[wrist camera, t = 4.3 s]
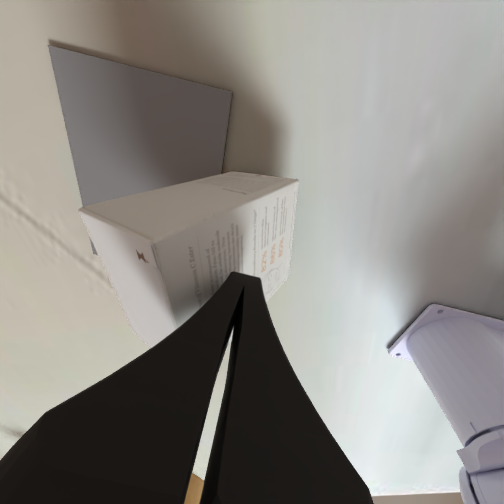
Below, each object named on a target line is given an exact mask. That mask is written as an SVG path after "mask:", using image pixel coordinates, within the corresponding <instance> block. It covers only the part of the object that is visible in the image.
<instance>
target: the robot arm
mask: <svg viewBox="0 0 504 504" xmlns="http://www.w3.org/2000/svg"><path fill="white" fill-rule="evenodd" d="M232 330H233V335H232V342H231V349H230V356H229V364H228V371H227V378H226V384H225V390H224V394H223V399H222V403H221V408H220V413H219V417H218V422H217V426H216V431H215V435H214V440H213V444H212V449H211V453H210V458H209V462H208V467H207V471H206V476H205V480H204V485H203V489H202V494H201V498H200V503H199V504H374V503H373V500H372V497H371V494H370V491H369V488H368V487H367V485H366V484H365V482H364V481H363V480H362V478H361V477H360V475H359V474H358V473H357V471H356V470H355V468H354V467H353V465H352V464H351V463H350V461H349V460H348V458H347V457H346V455H345V454H344V452H343V451H342V449H341V448H340V446H339V445H338V443H337V442H336V440H335V439H334V438H333V436H332V434H331V433H330V431H329V430H328V428H327V427H326V425H325V423H324V422H323V420H322V419H321V417H320V416H319V414H318V412H317V411H316V409H315V407H314V406H313V404H312V402H311V400H310V399H309V397H308V395H307V394H306V392H305V390H304V388H303V387H302V385H301V383H300V381H299V380H298V378H297V376H296V374H295V372H294V370H293V368H292V366H291V364H290V362H289V360H288V358H287V356H286V354H285V352H284V350H283V348H282V345H281V343H280V341H279V338H278V336H277V333H276V331H275V328H274V326H273V323H272V320H271V317H270V314H269V311H268V308H267V304H266V301H265V297H264V292H263V288H262V280H261V279H260V278H259V277H255V276H251V275H247V274H243V273H239V272H235V271H233V272H231V273H230V274H229V276H228V278H227V279H226V280H225V282H224V283H223V284H222V285H221V287H220V288H219V289H218V290H217V291H216V292H215V294H214V295H213V296H212V297H211V298H210V299H209V300H208V301H207V302H206V303H205V304H204V305H203V306H202V307H201V308H200V309H199V310H198V311H197V312H196V313H195V314H194V315H192V316H191V317H190V318H189V319H188V320H187V321H186V322H184V323H183V324H182V325H181V326H180V327H178V328H177V329H176V330H175V331H173V332H172V333H171V334H170V335H168V336H167V337H166V338H164V339H163V340H162V341H160V342H159V343H158V344H156V345H155V346H153V347H152V348H151V349H149V350H148V351H146V352H145V353H143V354H142V355H140V356H139V357H137V358H136V359H134V360H133V361H131V362H130V363H128V364H126V365H125V366H123V367H122V368H120V369H119V370H117V371H116V372H114V373H113V374H111V375H109V376H108V377H106V378H104V379H103V380H101V381H99V382H98V383H96V384H94V385H92V386H91V387H89V388H87V389H85V390H84V391H82V392H80V393H78V394H77V395H75V396H73V397H71V398H70V399H68V400H66V401H64V402H63V403H61V404H59V405H57V406H56V407H54V408H52V409H50V410H49V411H47V412H46V413H44V414H43V415H42V416H41V418H40V419H39V420H38V421H37V422H36V423H35V424H34V425H33V426H32V427H31V428H30V429H29V430H28V431H27V432H26V433H25V434H24V435H23V436H22V437H21V438H20V439H19V440H18V441H17V442H16V443H15V444H14V445H13V446H12V447H11V449H10V450H9V451H8V452H7V453H6V454H5V456H4V457H3V458H2V459H1V460H0V504H184V502H185V498H186V494H187V490H188V486H189V482H190V478H191V474H192V470H193V466H194V462H195V459H196V455H197V451H198V447H199V443H200V439H201V435H202V431H203V427H204V423H205V419H206V415H207V411H208V407H209V403H210V399H211V395H212V392H213V388H214V384H215V381H216V378H217V374H218V371H219V368H220V365H221V362H222V360H223V357H224V354H225V351H226V348H227V345H228V342H229V339H230V336H231V333H232ZM388 353H389V355H391V356H394V357H399V358H403V359H407V360H411V361H414V363H415V364H416V366H417V368H418V369H419V371H420V373H421V375H422V376H423V378H424V380H425V381H426V383H427V385H428V387H429V388H430V390H431V392H432V393H433V395H434V397H435V399H436V400H437V402H438V404H439V405H440V407H441V409H442V410H443V412H444V414H445V416H446V417H447V419H448V421H449V422H450V424H451V426H452V428H453V429H454V431H455V433H456V434H457V436H458V438H459V439H460V441H461V443H462V445H463V446H464V448H463V449H460V450H457V453H458V455H459V457H460V459H461V460H462V462H463V464H464V466H465V467H462V468H461V469H460V471H459V482H460V491H461V496H462V499H463V502H464V504H504V321H503V320H499V319H495V318H491V317H487V316H483V315H479V314H475V313H471V312H467V311H463V310H459V309H455V308H451V307H446V306H442V305H438V304H431V305H429V306H428V307H427V308H426V309H425V310H424V311H423V313H422V314H421V315H420V316H419V317H418V318H417V319H416V320H415V321H414V322H413V323H412V325H411V326H410V327H409V328H408V329H407V330H406V331H405V332H404V333H403V334H402V335H401V336H400V338H399V339H398V340H397V341H396V342H395V343H394V344H393V345H392V346H391V347H390V348H389V349H388Z"/></svg>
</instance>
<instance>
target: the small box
mask: <svg viewBox="0 0 504 504" xmlns="http://www.w3.org/2000/svg"><path fill="white" fill-rule="evenodd" d="M298 185H299V180H298V179H290V178H283V177H275V176H267V175H260V174H252V173H244V172H236V171H232V172H228V173H224V174H219V175H215V176H210V177H206V178H202V179H198V180H193V181H189V182H185V183H181V184H176V185H172V186H168V187H164V188H160V189H155V190H152V191H148V192H143V193H138V194H134V195H130V196H125V197H121V198H117V199H113V200H109V201H104V202H100V203H96V204H92V205H88V206H85V207H82V208H80V209H79V210H78V212H79V214H80V216H81V218H82V220H83V222H84V224H85V227H86V229H87V231H88V234H89V236H90V238H91V240H92V242H93V244H94V247H95V249H96V251H97V254H98V256H99V258H100V260H101V263H102V265H103V267H104V269H105V271H106V274H107V276H108V278H109V280H110V283H111V285H112V287H113V289H114V291H115V294H116V296H117V298H118V301H119V303H120V305H121V307H122V310H123V312H124V314H125V316H126V318H127V321H128V323H129V325H130V327H131V329H132V331H133V332H134V333H135V334H136V335H137V336H138V337H139V338H140V339H141V340H142V341H143V342H144V343H146V344H147V345H148V346H149V347H150V348H152V347H153V346H155V345H156V344H158V343H159V342H160V341H162V340H163V339H164V338H166V337H167V336H168V335H170V334H171V333H172V332H173V331H175V330H176V329H177V328H178V327H180V326H181V325H182V324H183V323H184V322H186V321H187V320H188V319H189V318H190V317H191V316H192V315H194V314H195V313H196V312H197V311H198V310H199V309H200V308H201V307H202V306H203V305H204V304H205V303H206V302H207V301H208V300H209V299H210V298H211V297H212V296H213V295H214V294H215V292H216V291H217V290H218V289H219V288H220V287H221V285H222V284H223V283H224V282H225V280H226V279H227V278H228V276H229V274H230V273H231V272H233V271H235V272H239V273H243V274H247V275H251V276H255V277H259V278H260V279H261V280H262V288H263V292H264V297H265V301H266V302H267V301H268V300H269V299H270V297H271V296H272V295H273V294H274V293H275V292H276V291H277V290H278V289H279V288H280V286H281V285H282V284H283V283H284V282H285V281H286V280H287V279H288V277H289V270H290V260H291V251H292V241H293V232H294V222H295V212H296V202H297V193H298ZM232 335H233V330H232V333H231V336H230V339H229V342H228V344H229V343H230V342H231V341H232Z"/></svg>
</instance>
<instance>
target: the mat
mask: <svg viewBox="0 0 504 504" xmlns="http://www.w3.org/2000/svg"><path fill="white" fill-rule="evenodd" d="M48 47H49V52H50V56H51V61H52V66H53V70H54V75H55V79H56V84H57V89H58V93H59V98H60V102H61V107H62V112H63V116H64V121H65V125H66V130H67V135H68V139H69V144H70V148H71V153H72V158H73V162H74V167H75V171H76V176H77V181H78V185H79V190H80V194H81V199H82V204H83V207H85V206H88V205H92V204H96V203H100V202H104V201H109V200H113V199H117V198H121V197H125V196H130V195H134V194H138V193H143V192H148V191H152V190H155V189H160V188H164V187H168V186H172V185H176V184H181V183H185V182H189V181H193V180H198V179H202V178H206V177H210V176H215V175H219V174H222V168H223V160H224V153H225V145H226V138H227V130H228V122H229V115H230V107H231V100H232V92H231V91H228V90H224V89H220V88H216V87H212V86H208V85H204V84H200V83H196V82H192V81H188V80H184V79H180V78H176V77H172V76H168V75H164V74H161V73H157V72H153V71H149V70H145V69H141V68H137V67H133V66H129V65H125V64H121V63H117V62H113V61H109V60H105V59H101V58H98V57H94V56H90V55H86V54H82V53H78V52H74V51H70V50H66V49H62V48H58V47H54V46H50V45H48ZM90 240H91V238H90ZM91 245H92V250H93V254H96V255H98V254H97V251H96V249H95V247H94V244H93V242H92V240H91Z"/></svg>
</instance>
